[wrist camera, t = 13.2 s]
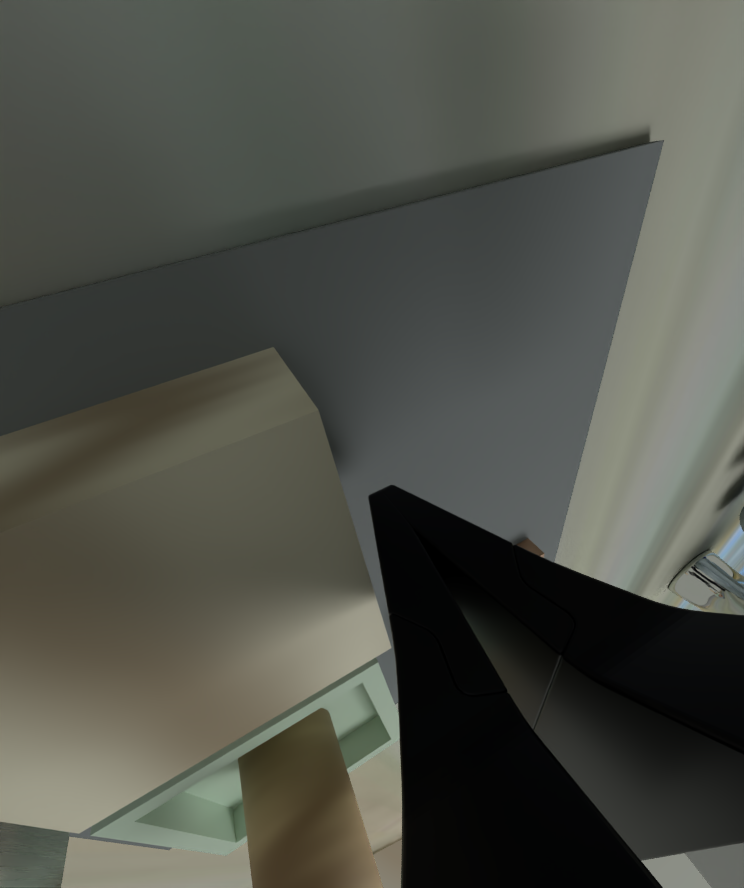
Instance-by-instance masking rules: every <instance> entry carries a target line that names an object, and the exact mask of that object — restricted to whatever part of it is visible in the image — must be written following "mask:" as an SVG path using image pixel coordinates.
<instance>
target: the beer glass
mask: <svg viewBox="0 0 744 888" xmlns="http://www.w3.org/2000/svg"><path fill="white" fill-rule="evenodd" d="M669 590H670V591H671V592H672V593H674V594H676V595H677V596H679V597H681V598H682V599H684V600H686V601H688V602H689V603H691V604H693V605H694V606H696V607H697V608H699V609H700V610H702V611H703V612H715V613H726V614H737V615H744V576H742V575H741V574H739V573H738V572H737V571H735V570H734V569H733V568H732V567H730V566H729V565H728V564H727V563H726V562H725V561H723V560H722V559H721V558H720V557H719V556H718V555H716V554H715V553H714V552H712V551H710V550H708V551H705V552H703V553H702V554H700V555H698V556H697V557H696V558H694V559H693V560H692V561H691V562H690V563H689V564H687V565H686V566H685V567H684V568H683V569H682V570H681V571H680V572H679V573H678V574H677V575H676V577H675V578H674V579H673V580H672V582H671V583H670V585H669Z"/></svg>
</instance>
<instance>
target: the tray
mask: <svg viewBox="0 0 744 888" xmlns="http://www.w3.org/2000/svg"><path fill="white" fill-rule="evenodd" d="M320 708H323V709H326V710H328V711H329V713H330V716H331V720H332V723H333V726H334V729H335V733H336V736H337V739H338V742H339V746H340V749H341V752H342V755H343V759H344V762H345V765H346V768H347V772H348V773H350V772H351V771H353V770H354V769H356V768H357V767H359V766H360V765H362V764H363V763H365V762H366V761H368V760H369V759H371V758H372V757H374V756H375V755H377V754H378V753H380V752H381V751H383V750H384V749H386V748H387V747H389V746H390V745H392V744H393V743H394V742H396V741H397V740H399V739H400V733H399V714H398V711H397V709H396V706H395V704H394V701H393V699H392V696H391V694H390V691H389V689H388V686H387V683H386V681H385V678H384V676H383V673H382V671H381V668H380V666H379V663H378V661H377V659H376V658H374V659H372V660H370V661H369V662H367V663H365V664H364V665H362V666H360V667H359V668H357V669H355V670H354V671H352V672H350V673H349V674H347V675H345V676H344V677H342V678H340V679H339V680H337V681H335V682H333V683H332V684H330V685H328V686H327V687H325V688H323V689H322V690H320V691H318V692H317V693H315V694H313V695H312V696H310V697H308V698H307V699H305V700H303V701H301V702H300V703H298V704H296V705H295V706H293V707H291V708H290V709H288V710H286V711H285V712H283V713H281V714H280V715H278V716H276V717H275V718H273V719H271V720H270V721H268V722H266V723H264V724H263V725H261V726H259V727H258V728H256V729H254V730H253V731H251V732H249V733H248V734H246V735H244V736H243V737H241V738H239V739H238V740H236V741H234V742H232V743H231V744H229V745H227V746H226V747H224V748H222V749H221V750H219V751H217V752H216V753H214V754H212V755H211V756H209V757H207V758H206V759H204V760H202V761H201V762H199V763H197V764H195V765H194V766H192V767H190V768H189V769H187V770H185V771H184V772H182V773H180V774H179V775H177V776H175V777H174V778H172V779H170V780H169V781H167V782H165V783H163V784H162V785H160V786H158V787H157V788H155V789H153V790H152V791H150V792H148V793H147V794H145V795H143V796H142V797H140V798H138V799H137V800H135V801H133V802H132V803H130V804H128V805H126V806H125V807H123V808H121V809H120V810H118V811H116V812H115V813H113V814H111V815H110V816H108V817H106V818H105V819H103V820H101V821H100V822H98V823H96V824H95V825H93V826H91V833H90V836H96V837H102V838H109V839H116V840H123V841H130V842H137V843H143V844H150V845H157V846H164V847H171V848H178V849H184V850H191V851H198V852H205V853H212V854H219V855H225V856H226V855H228V854H229V853H231V852H232V851H234V850H235V849H237V848H238V847H240V846H241V845H243V844H244V843H246V842H247V833H246V825H245V816H244V807H243V799H242V790H241V782H240V773H239V764H238V758H239V757H241V756H243V755H244V754H246V753H248V752H249V751H251V750H252V749H254V748H256V747H257V746H259V745H261V744H262V743H264V742H266V741H267V740H269V739H270V738H272V737H274V736H275V735H277V734H279V733H280V732H282V731H284V730H285V729H287V728H289V727H290V726H292V725H293V724H295V723H297V722H298V721H300V720H302V719H303V718H305V717H307V716H308V715H310V714H311V713H313V712H315V711H316V710H318V709H320Z"/></svg>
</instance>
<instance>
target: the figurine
mask: <svg viewBox="0 0 744 888" xmlns="http://www.w3.org/2000/svg"><path fill="white" fill-rule="evenodd" d="M740 525H741V527H742V530H743V531H744V507H743V509H742V510H741V513H740Z"/></svg>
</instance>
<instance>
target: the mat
mask: <svg viewBox="0 0 744 888" xmlns="http://www.w3.org/2000/svg"><path fill="white" fill-rule="evenodd" d="M663 142H664V140H662V141H654V142H649V143H645V144H641V145H637V146H633V147H629V148H626V149H622V150H618V151H614V152H610V153H606V154H602V155H598V156H594V157H590V158H586V159H582V160H578V161H574V162H570V163H567V164H563V165H559V166H555V167H551V168H547V169H543V170H539V171H535V172H531V173H527V174H523V175H519V176H515V177H511V178H508V179H504V180H500V181H496V182H492V183H488V184H484V185H480V186H476V187H472V188H468V189H464V190H460V191H456V192H453V193H449V194H445V195H441V196H437V197H433V198H429V199H425V200H421V201H417V202H413V203H409V204H405V205H401V206H397V207H394V208H390V209H386V210H382V211H378V212H374V213H370V214H366V215H362V216H358V217H354V218H350V219H346V220H342V221H338V222H335V223H331V224H327V225H323V226H319V227H315V228H311V229H307V230H303V231H299V232H295V233H291V234H287V235H283V236H280V237H276V238H272V239H268V240H264V241H260V242H256V243H252V244H248V245H244V246H240V247H236V248H232V249H228V250H224V251H221V252H217V253H213V254H209V255H205V256H201V257H197V258H193V259H189V260H185V261H181V262H177V263H173V264H169V265H165V266H162V267H158V268H154V269H150V270H146V271H142V272H138V273H134V274H130V275H126V276H122V277H118V278H114V279H110V280H107V281H103V282H99V283H95V284H91V285H87V286H83V287H79V288H75V289H71V290H67V291H63V292H59V293H55V294H51V295H48V296H44V297H40V298H36V299H32V300H28V301H24V302H20V303H16V304H12V305H8V306H4V307H0V436H3V435H6V434H9V433H12V432H15V431H18V430H21V429H24V428H27V427H30V426H33V425H36V424H39V423H42V422H46V421H49V420H52V419H55V418H58V417H61V416H64V415H67V414H70V413H73V412H76V411H79V410H82V409H85V408H88V407H91V406H94V405H97V404H101V403H104V402H107V401H110V400H113V399H116V398H119V397H122V396H125V395H128V394H131V393H134V392H137V391H140V390H143V389H146V388H149V387H152V386H156V385H159V384H162V383H165V382H168V381H171V380H174V379H177V378H180V377H183V376H186V375H189V374H192V373H195V372H198V371H201V370H204V369H207V368H211V367H214V366H217V365H220V364H223V363H226V362H229V361H232V360H235V359H238V358H241V357H244V356H247V355H250V354H253V353H256V352H259V351H262V350H266V349H269V348H272V347H274V348H275V350H276V351H277V352H278V354H279V355H280V357H281V358H282V359H283V361H284V362H285V364H286V365H287V366H288V368H289V369H290V371H291V372H292V373H293V375H294V376H295V378H296V379H297V380H298V382H299V383H300V385H301V386H302V388H303V389H304V390H305V392H306V393H307V395H308V396H309V397H310V399H311V400H312V402H313V403H314V404H315V406H316V407H317V409H318V410H319V413H320V416H321V420H322V423H323V426H324V429H325V433H326V436H327V439H328V442H329V446H330V449H331V452H332V455H333V459H334V462H335V465H336V469H337V472H338V475H339V478H340V482H341V485H342V488H343V491H344V495H345V498H346V501H347V504H348V508H349V511H350V514H351V517H352V521H353V524H354V527H355V530H356V534H357V537H358V540H359V544H360V547H361V550H362V553H363V557H364V560H365V563H366V566H367V570H368V573H369V576H370V579H371V583H372V586H373V589H374V592H375V596H376V599H377V602H378V605H379V609H380V612H381V615H382V618H383V622H384V625H385V628H386V632H387V635H388V638H389V641H390V645H391V649H389V650H387V651H386V652H384V653H382V654H381V655H379V656H377V657H376V659H377V661H378V663H379V666H380V668H381V671H382V673H383V676H384V678H385V681H386V683H387V686H388V689H389V691H390V694H391V696H392V699H393V701H394V704H397V703H398V690H397V676H396V663H395V654H394V647H393V640H392V633H391V627H390V621H389V614H388V609H387V603H386V597H385V592H384V586H383V580H382V575H381V569H380V563H379V557H378V552H377V546H376V540H375V535H374V529H373V523H372V517H371V512H370V506H369V500H368V496H369V495H370V494H372V493H374V492H376V491H378V490H380V489H383V488H385V487H387V486H389V485H395V486H397V487H399V488H401V489H403V490H405V491H407V492H410V493H412V494H414V495H416V496H418V497H420V498H422V499H424V500H426V501H428V502H430V503H432V504H434V505H436V506H438V507H440V508H442V509H444V510H446V511H448V512H450V513H452V514H454V515H456V516H459V517H461V518H463V519H465V520H467V521H469V522H471V523H473V524H475V525H477V526H479V527H481V528H483V529H485V530H487V531H489V532H491V533H493V534H495V535H497V536H499V537H501V538H503V539H505V540H507V541H510V542H512V544H513V545H515V544H516V545H517V544H519V543H521V542H522V541H524V540H526V539H528V538H529V539H530V540H531V541H532V542H533V543H534V544H535V545H536V546H537V547H538V548H539V549H540V550H541V551H542V552H544V553H545V554H544V558H545V559H548V560H550V561H552V562H554V561H555V557H556V553H557V549H558V546H559V542H560V538H561V534H562V530H563V526H564V522H565V519H566V515H567V511H568V507H569V503H570V499H571V496H572V492H573V488H574V484H575V480H576V476H577V473H578V469H579V465H580V461H581V457H582V453H583V449H584V446H585V442H586V438H587V434H588V430H589V426H590V423H591V419H592V415H593V411H594V407H595V403H596V399H597V396H598V392H599V388H600V384H601V380H602V376H603V373H604V369H605V365H606V361H607V357H608V353H609V350H610V346H611V342H612V338H613V334H614V330H615V326H616V323H617V319H618V315H619V311H620V307H621V303H622V300H623V296H624V292H625V288H626V284H627V280H628V277H629V273H630V269H631V265H632V261H633V257H634V253H635V250H636V246H637V242H638V238H639V234H640V230H641V227H642V223H643V219H644V215H645V211H646V207H647V203H648V200H649V196H650V192H651V188H652V184H653V180H654V177H655V173H656V169H657V165H658V161H659V157H660V154H661V150H662V146H663ZM90 833H91V827H89V828H88V829H86V830H84V831H83V832H81V833H79V834H78V833H71V832H70V834H69V836H70V837H77V838H84V839H92V840H99V841H106V842H114V843H121V844H128V845H136V846H143V847H150V848H158V849H165V850H169V849H171V847H164V846H157V845H150V844H143V843H137V842H130V841H123V840H116V839H109V838H102V837H96V836H90Z"/></svg>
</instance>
